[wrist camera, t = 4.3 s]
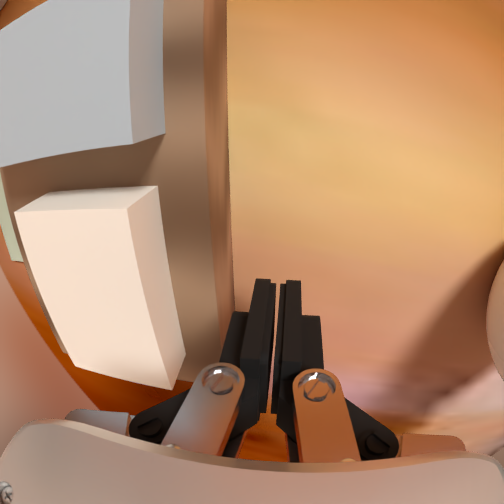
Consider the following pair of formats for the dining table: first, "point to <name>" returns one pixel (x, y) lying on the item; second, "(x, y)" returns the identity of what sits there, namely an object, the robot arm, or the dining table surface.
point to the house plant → (2, 3)
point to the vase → (496, 320)
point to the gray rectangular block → (80, 77)
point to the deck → (168, 178)
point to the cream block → (106, 280)
